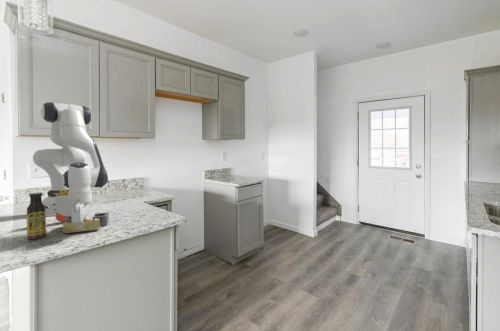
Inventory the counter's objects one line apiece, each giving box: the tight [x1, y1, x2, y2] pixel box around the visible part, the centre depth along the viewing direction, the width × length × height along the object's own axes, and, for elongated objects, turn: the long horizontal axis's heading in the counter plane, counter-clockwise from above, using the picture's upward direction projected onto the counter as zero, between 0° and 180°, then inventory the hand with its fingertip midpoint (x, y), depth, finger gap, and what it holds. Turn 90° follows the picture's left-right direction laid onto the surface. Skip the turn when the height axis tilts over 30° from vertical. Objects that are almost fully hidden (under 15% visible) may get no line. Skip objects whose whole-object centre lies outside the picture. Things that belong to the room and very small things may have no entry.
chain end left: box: [62, 216, 71, 224], centre depth 121 cm, size 6×8×5 cm
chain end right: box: [91, 212, 110, 227], centre depth 126 cm, size 6×8×5 cm
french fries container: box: [55, 189, 73, 224], centre depth 130 cm, size 5×11×18 cm, turn 136°
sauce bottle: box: [26, 192, 47, 240], centre depth 107 cm, size 6×6×20 cm
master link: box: [62, 218, 101, 234], centre depth 115 cm, size 14×3×5 cm, turn 113°
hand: (82, 226), depth 115 cm, fingers closed on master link, 3 cm apart
